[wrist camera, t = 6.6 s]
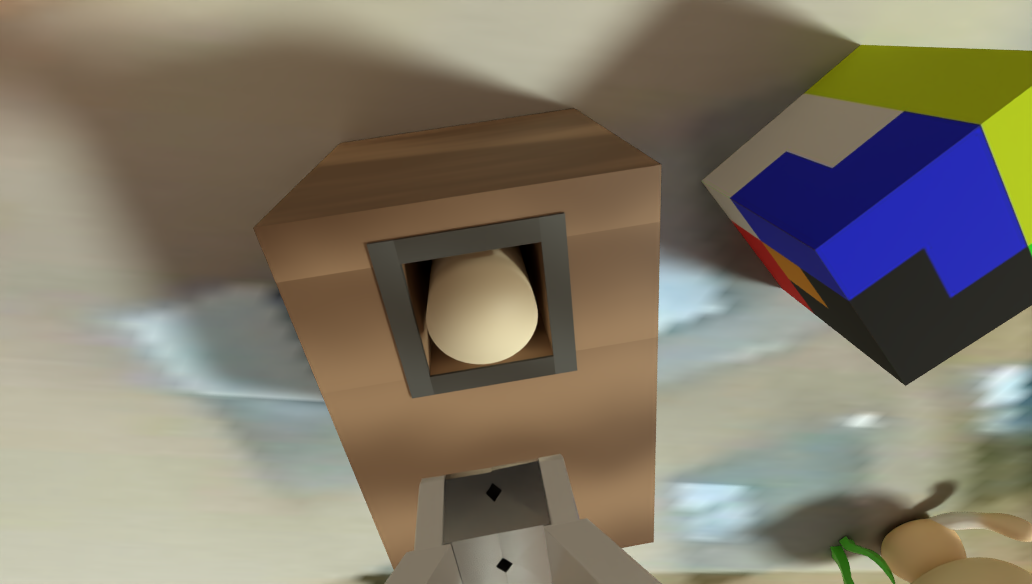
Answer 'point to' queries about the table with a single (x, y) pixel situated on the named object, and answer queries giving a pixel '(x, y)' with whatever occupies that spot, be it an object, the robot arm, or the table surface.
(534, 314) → the peg
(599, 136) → the walnut block
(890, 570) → the kitten
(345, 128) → the table surface
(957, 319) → the puzzle toy
